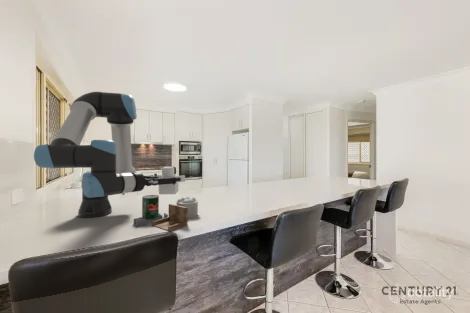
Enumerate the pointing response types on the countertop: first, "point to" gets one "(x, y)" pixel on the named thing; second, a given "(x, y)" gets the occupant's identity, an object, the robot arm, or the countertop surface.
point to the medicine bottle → (168, 188)
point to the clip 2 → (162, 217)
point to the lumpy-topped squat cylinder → (189, 205)
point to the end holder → (173, 218)
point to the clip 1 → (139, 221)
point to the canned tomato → (150, 207)
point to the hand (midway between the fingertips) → (176, 177)
